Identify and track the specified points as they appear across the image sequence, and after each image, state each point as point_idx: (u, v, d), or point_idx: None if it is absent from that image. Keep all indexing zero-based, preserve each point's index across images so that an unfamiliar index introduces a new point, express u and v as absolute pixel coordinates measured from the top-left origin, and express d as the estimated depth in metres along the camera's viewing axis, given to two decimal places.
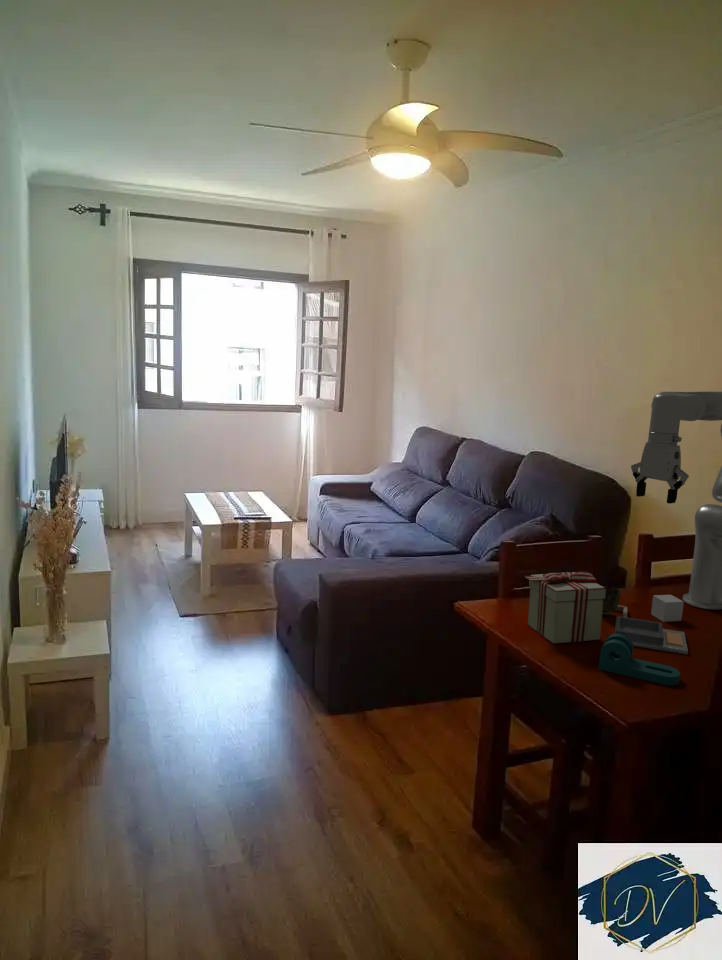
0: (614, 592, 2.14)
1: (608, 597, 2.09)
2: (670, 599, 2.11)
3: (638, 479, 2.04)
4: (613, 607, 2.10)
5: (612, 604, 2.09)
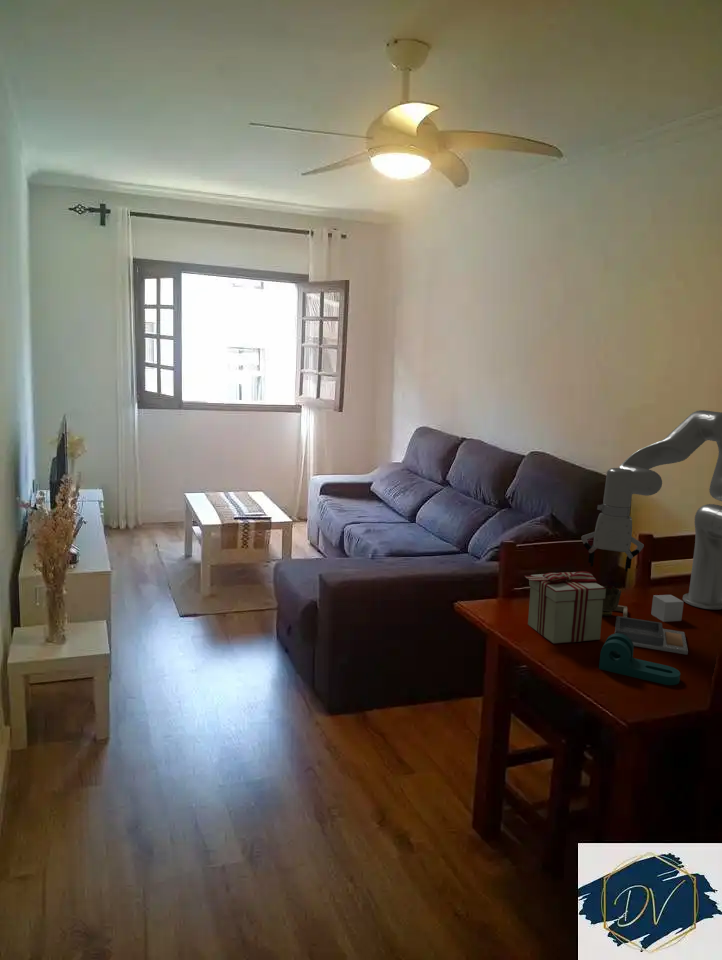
0: (614, 592, 2.14)
1: (608, 597, 2.09)
2: (670, 599, 2.11)
3: None
4: (613, 607, 2.10)
5: (612, 604, 2.09)
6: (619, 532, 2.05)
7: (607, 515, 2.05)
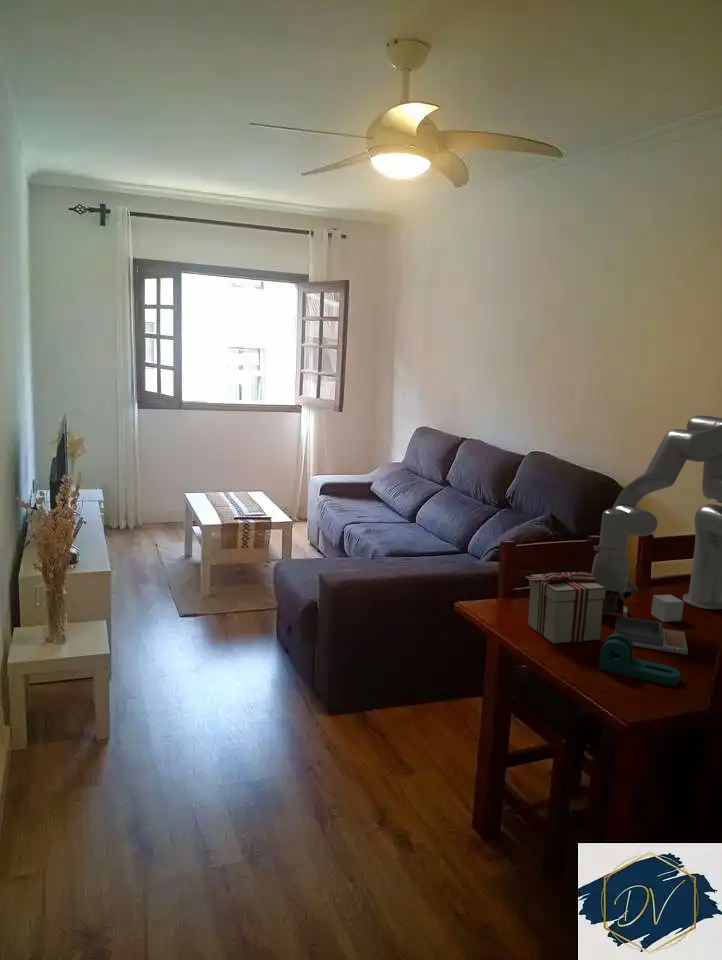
0: (614, 592, 2.14)
1: (608, 597, 2.09)
2: (670, 599, 2.11)
3: None
4: (612, 607, 2.10)
5: (612, 604, 2.09)
6: (616, 572, 2.07)
7: (603, 556, 2.08)
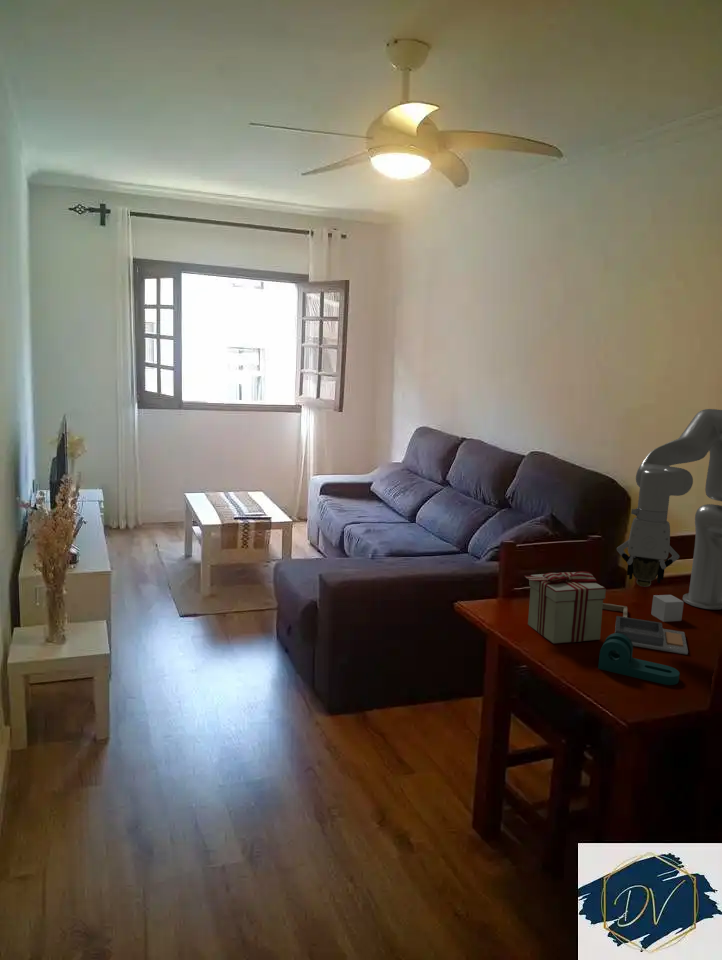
0: (653, 560, 1.96)
1: (647, 565, 1.90)
2: (670, 599, 2.11)
3: None
4: (652, 576, 1.91)
5: (652, 573, 1.91)
6: (656, 538, 1.89)
7: (643, 520, 1.89)
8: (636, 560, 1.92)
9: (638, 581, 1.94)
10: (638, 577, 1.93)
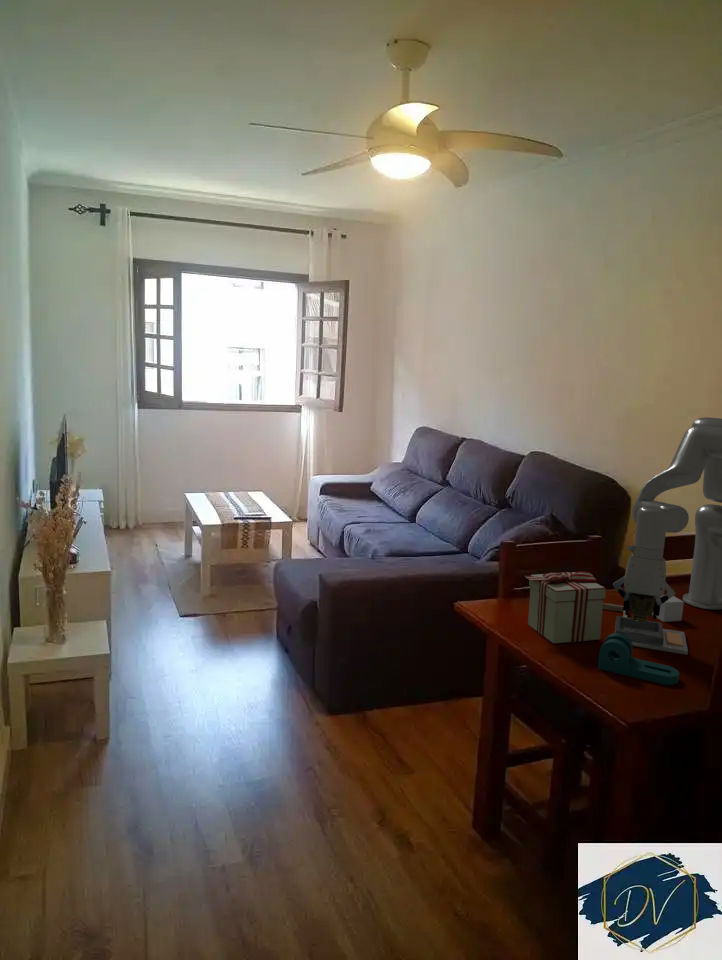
0: (649, 596, 1.97)
1: (643, 602, 1.92)
2: (670, 599, 2.11)
3: None
4: (648, 612, 1.93)
5: (648, 610, 1.92)
6: (652, 575, 1.91)
7: (639, 557, 1.91)
8: (632, 596, 1.93)
9: (634, 617, 1.96)
10: (634, 613, 1.94)
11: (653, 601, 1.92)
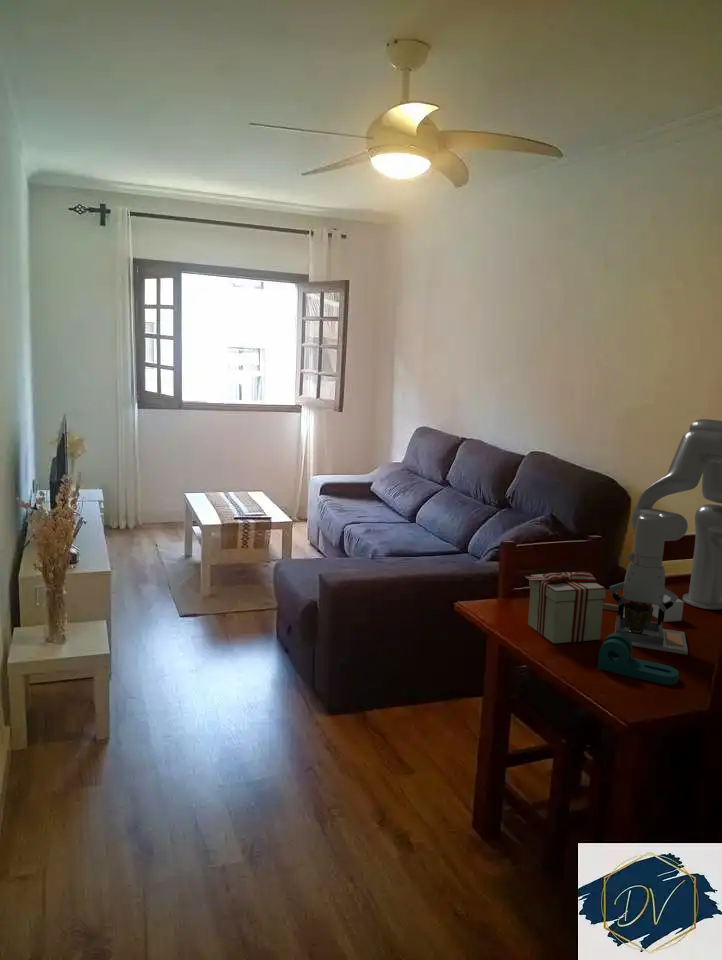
0: (645, 609, 1.98)
1: (639, 614, 1.93)
2: None
3: None
4: (644, 625, 1.94)
5: (644, 622, 1.93)
6: (651, 583, 1.91)
7: (638, 565, 1.91)
8: (628, 609, 1.94)
9: (630, 629, 1.97)
10: (630, 626, 1.95)
11: (649, 614, 1.93)
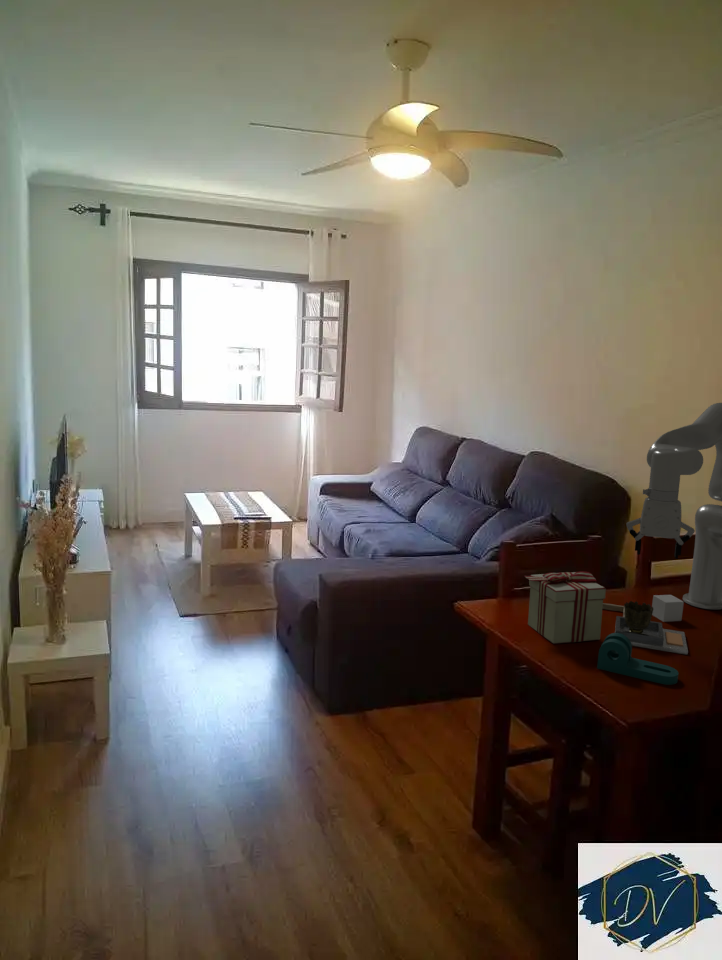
0: (645, 609, 1.98)
1: (639, 614, 1.93)
2: (670, 599, 2.11)
3: None
4: (644, 625, 1.94)
5: (644, 622, 1.93)
6: (668, 517, 1.93)
7: (654, 500, 1.93)
8: (628, 609, 1.94)
9: (630, 629, 1.97)
10: (630, 626, 1.95)
11: (649, 614, 1.93)
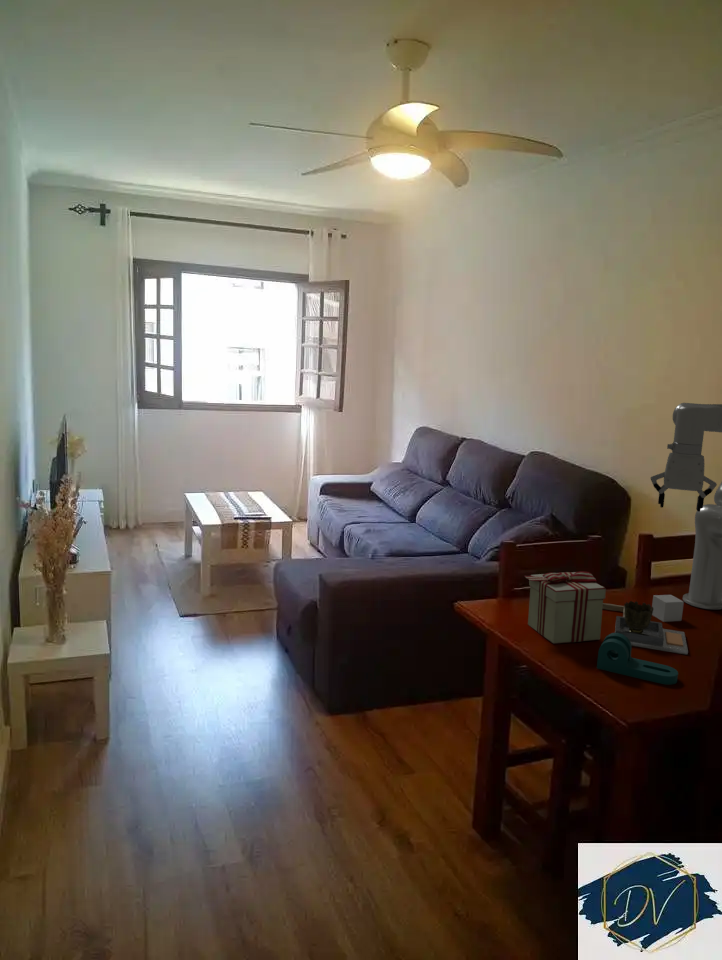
0: (645, 609, 1.98)
1: (639, 614, 1.93)
2: (670, 599, 2.11)
3: None
4: (644, 625, 1.94)
5: (644, 622, 1.93)
6: (691, 470, 2.01)
7: (679, 453, 2.01)
8: (628, 609, 1.94)
9: (630, 629, 1.97)
10: (630, 626, 1.95)
11: (649, 614, 1.93)
